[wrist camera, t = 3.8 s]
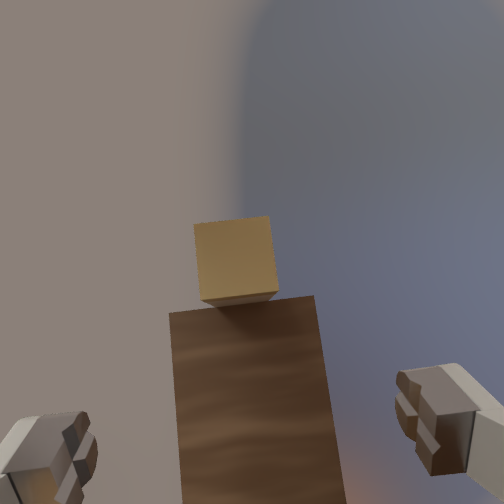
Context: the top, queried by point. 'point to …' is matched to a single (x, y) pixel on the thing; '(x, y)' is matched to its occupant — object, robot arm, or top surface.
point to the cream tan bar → (235, 261)
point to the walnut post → (254, 405)
